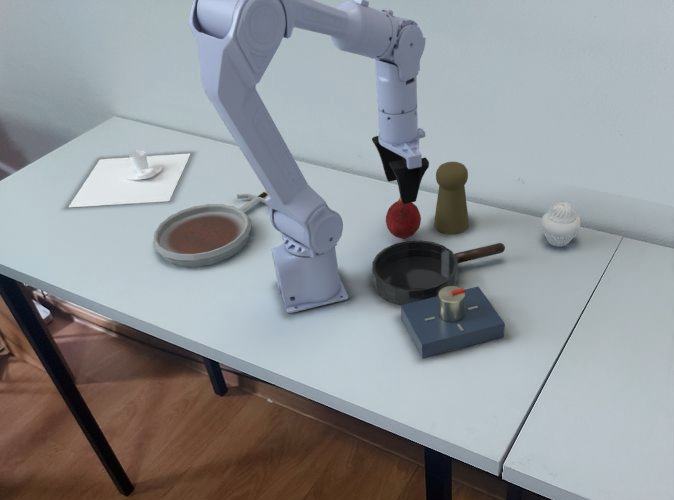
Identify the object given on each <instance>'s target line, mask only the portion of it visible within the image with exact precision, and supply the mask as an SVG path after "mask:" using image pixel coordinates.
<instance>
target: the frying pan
mask: <svg viewBox="0 0 674 500" xmlns="http://www.w3.org/2000/svg"><path fill="white" fill-rule="evenodd" d="M267 196H268V193H267V191H266V190H263V192H262V193H260V194H259V195H255V194H251V193H237V194H236V198H237V200H238V199H250V200H249V201H247V202H246V203H244V204H243V205H242V206H240V207H239V208H238V207H236V206H234V205H229V204H223V203H206V204H199V205H193V206H191V207H188V208H184V209H182V210H181V209H180V210H179V211H177V212H175V213H173V214H171V215H169V216H168V217H167V218H165V219H164V220H163V221H161V222H160V223H159V224H158V226H157V228H156V229H155V231H154V233H153V238H152V245H153V247H154V249H155V251H156V252H157V253H159V254H160V255H161V257H162V258H163V259H164V260H166V261H167V262H169V263H170V264H172V265H176V266H181V267H185V268H186V267H187V268H188V267H191V268H192V267H193V268H194V267H195V268H196V267H197V268H198V267H205V266H210V265H211V266H212V265H214V264H217V263H220V262H223V261H225V260H228V259H230V258H231V257H233V256H234V255H236V254H238V253H239V252H240V251H241V250H242V249H243V248H244V247H245V246H246V245H247V242H248V240H249V237H250V232H251V229H252V223H251V219H250V218H249V217H248V215H247V214H246V213H245V212H246V211H248V210H249V209H251V208H252V207H254V206H255V205H256V204H258V203H259V202H260V203H263V204H266V203H265V200H266V197H267Z"/></svg>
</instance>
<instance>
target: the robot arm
mask: <svg viewBox="0 0 674 500" xmlns="http://www.w3.org/2000/svg"><path fill="white" fill-rule="evenodd" d="M369 4H370V1H368V0H353V1H352V0H347V1H343V2H342V3H340V4H339V5H338V6H337V7H336V8H335V7H333V6H330V5H328V4H324V3H322V2H319V1H317V0H193V1H192V6H191V9H190V13H189V17H188V21H187V25H188V27H189V29H190V31H191V33H192V35H193V38H194V39H195V42H196V48H197V56H198V63H199V69H200V77H201V84H202V89H203V90H204V94H205V96H206V97H207V98H208V100H209V102H210V104H211V105H212V107H213V108H214V110H215V112H216V113H217V115H218V116H219V118H220V119H221V121H222V124H223V125H224V126H225V127H226V129H227V130H228V132H229V134H230V136H231V137H232V138H233V141H234V142H235V143H236V145H237V147H238V149H239V150H240V151H241V153H242V154H243V156H244V159H246V161H247V162H248V165H249V166H250V167H251V170H252V171H253V172H254V174H255V175H256V177H257V179H258V180H259V182H260V184H261V185H262V186H263V188H264V189H265V190H264V191H267V193H268V195H267V196H266V197H265V199H266V200H265V203H264V204H266V206H267V208H268V210H269V219H270V223H271V225H272V227H273V228H274V229H275V230H276V231H278V232H280V233H281V239H282V241H283V243H282V244H280V245H278V246H276V247H273V248H271V256H272V260H273V265H274V270H275V275H276V280H277V282H276V287H277V291H278V294H279V295H281V298H282V302H283V304H284V307H285V310H286V313H288V314H293V313H297V312H301V311H305V310H309V309H314V308H317V307H321V306H322V307H323V306H326V305H331V304H334V303H337V302H343V301H346V300H348V299H349V295H348V292H347V290H346V289H345V286H344V284H343V282H342V280H341V277H340V274H339V267H338V258H337V251H336V247H337V246H338V243H339V241H340V239H341V237H342V234H343V230H344V223H343V222H344V221H343V218H342V216H341V215H340V214H339V212H337V211H335V210H333V209H332V208H330V207H329V205H328V203H327V202H326V200H325V199H324V198H323V197H322V196H321V195H320V194H319V193H317V192H316V191H315V189H313V188H312V187H311V185H310V184H308V182H307V179H306V178H305V176H304V175H303V172H302V171H301V169H300V167H299V165H298V163H297V161H296V160H295V158H294V156H293V154H292V153H291V150H290V149H289V146H288V144H287V143H286V142H285V140H284V137H283V136H282V134H281V133H280V131H279V129H278V127H277V125H276V123H275V121H274V120H273V118H272V116H271V114H270V113H269V111H268V109H267V107H266V105H265V103H264V102H263V100H262V98H261V95H260V94H259V92H258V90H257V88H256V87H257V84H259V83H260V82H261V80H262V78H263V76H264V74H265V73H266V70H267V69H268V67H269V65H270V64H271V62H272V60H273V58H274V56H275V54H276V52H277V50H278V49H279V48H280V45H281V43H282V41H283V39H290V38H291V37H292V34H293V31H294V28H296V29H300V30H304V31H309V32H313V33H318V34H322V35H326V36H330V40H331V42H332V44H333V46H335V48H336V49H338V50H339V51H342V52H346V53H351V54H354V55H359V56H362V57H366V58H370V59H373V60H374V69H375V81H376V82H375V84H376V98H377V115H378V118H377V119H378V135H375V136H373V137H372V138H371V141H372V143H373V144H374V146H375V148H376V150H377V153H378V156H379V157H380V160H381V164H382V168H383V171H384V175H385V178H386V180H387V182H388V183H389V182H393V181H397V186H398V192H399V198H400V197H401V200H402V202H403V204H407V203H416V201H417V198H418V195H419V192H420V191H419V190H420V186H421V183H422V180H423V178H424V175H425V174H426V171H427V170H428V169H429V167H430V161H429V160H428V159H427V157H426V156H425V157H422V153H421V151H420V139H423V138H425V137H426V131H425V130H424V128H422V127H419V126H418V125H419V124H418V123H419V122H418V84H417V83H418V81H417V78H418V77H417V76H418V75H419V71H420V70H421V59H422V57H423V54H424V51H425V47H426V41H427V40H426V39H427V38H426V37H424V35H423V32H422V30H421V28H420V26H418V25H419V24H418V23H417V22H416V21H415V20H412V19H408V18H404V17H400V16H396V15H395V16H394V11H393V10H391V9H389V8H382V9H381V10H379V9H376V8H373V7H370V6H369Z"/></svg>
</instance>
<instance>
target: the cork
mask: <svg viewBox="0 0 674 500" xmlns="http://www.w3.org/2000/svg"><path fill="white" fill-rule="evenodd" d="M468 179H469V172H468V168H467V167H466V166H465V164H463V163H462V162H458V161H447V162H443V163H442V164H440V165H439V166H438V168H437V169H436V172H435V180H436V183H437V184H438V192H437V199H436V205H435V212H434V220H433V227H434V229H435V230H436V231H437V232H439V233H442V234H445V235H457V234H461V233H463V232H465V231H466V230H468V229H469V226H470V220H469V213H468V203H467V196H466V195H467V194H466V184H467V182H468Z"/></svg>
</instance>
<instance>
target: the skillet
mask: <svg viewBox="0 0 674 500" xmlns="http://www.w3.org/2000/svg"><path fill="white" fill-rule="evenodd" d="M454 254H455V253H454V252H453V251H452V250H451V249H450V248H448V247H446V246H445V245H443V244H441V243H438V242H434V241H429V240H423V239H421V240H420V239H417V240H405V241H400V242H395V243H392V244H391V245H389V246H386V247H385V248H383V249H382V250H381V251H379V252H378V253H377V254H376V255H375V257H374V259H373V261H372V264H371V266H372V267H371V274H372V284H373V287H374V290H375V291H376V294H378V295H379V296H380V298H383V299H384V300H386V301H387V302H390V303H392V304H395V305H398V306H401V305H404V304H408V303H412V302H416V301H420V300H424V299H428V298H432V297H436V296H438V294H439V291H440V290H441V289H442V288H444V287H447V286H456V287H457V285H458V281H459V263H458V262H457V258H456V256H455V255H454Z"/></svg>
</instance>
